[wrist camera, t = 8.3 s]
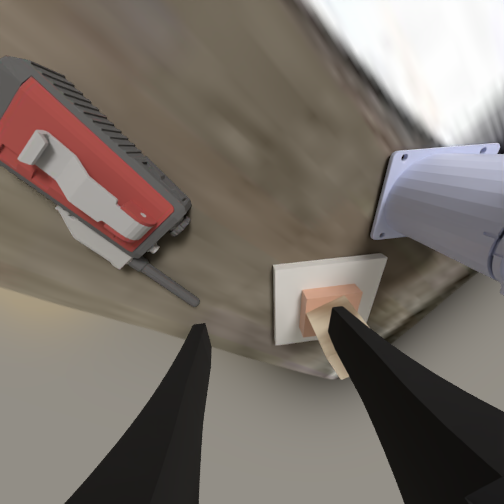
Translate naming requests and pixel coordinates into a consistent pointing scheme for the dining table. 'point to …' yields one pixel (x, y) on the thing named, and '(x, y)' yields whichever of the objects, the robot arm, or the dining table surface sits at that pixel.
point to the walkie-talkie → (87, 169)
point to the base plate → (321, 277)
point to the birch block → (320, 325)
